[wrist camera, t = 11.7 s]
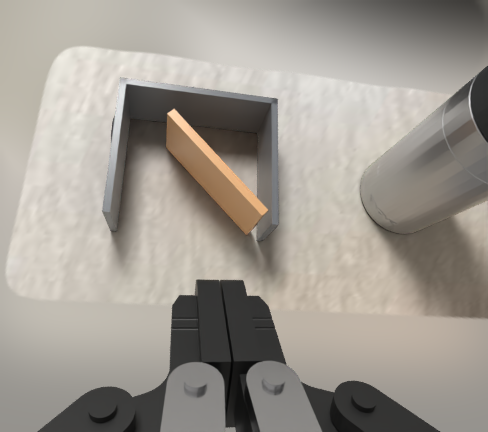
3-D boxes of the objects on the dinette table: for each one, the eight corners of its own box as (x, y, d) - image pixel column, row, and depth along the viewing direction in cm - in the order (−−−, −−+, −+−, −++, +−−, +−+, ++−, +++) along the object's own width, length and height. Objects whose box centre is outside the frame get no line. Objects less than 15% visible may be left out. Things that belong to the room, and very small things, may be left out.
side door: (171, 143, 42) (174, 108, 36) (252, 230, 41) (268, 210, 35) (166, 147, 42) (167, 113, 36) (246, 235, 41) (262, 215, 35)
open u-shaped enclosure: (122, 112, 43) (116, 76, 37) (262, 129, 45) (277, 98, 40) (107, 230, 39) (98, 210, 33) (262, 241, 41) (278, 224, 36)
